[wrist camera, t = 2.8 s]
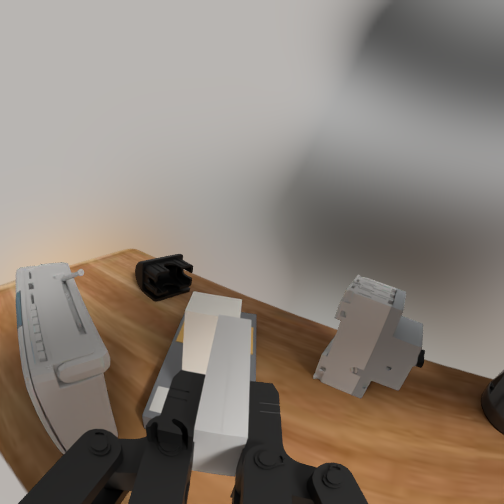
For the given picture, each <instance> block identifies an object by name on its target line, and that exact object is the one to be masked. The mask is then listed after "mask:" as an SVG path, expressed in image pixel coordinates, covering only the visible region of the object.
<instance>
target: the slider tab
mask: <svg viewBox="0 0 504 504" xmlns="http://www.w3.org/2000/svg"><path fill="white" fill-rule="evenodd" d="M241 305H242V299H236V298H230V297H224V296H218V295H212V294H207V293H201V292H195V291H194V292H193V294H192V296H191V299H190V301H189V303H188V305H187V308H186V310H185V321H184V338H183V358H182V370H185V371H190V372H195V373H200V374H205V375H206V371H207V366H208V361H209V357H210V352H211V348H212V343H213V339H214V334H215V330H216V325H217V321H218V316H219V314H220V315H226V316H231V317H237V318H240V315H241Z"/></svg>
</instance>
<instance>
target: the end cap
mask: <svg viewBox="0 0 504 504" xmlns="http://www.w3.org/2000/svg"><path fill="white" fill-rule="evenodd" d="M184 269H185V270H187V271H188V272H190V273H192V272H193V266H192V265H191V264H188V263H187V262H185V261H184V260H183V255H182V254H175V255H170V256H165V257H160V258H155V259H150V260H146V261H141V262H139V263H137V265H136V269H135V276H136V280H137V283H138V285H139V287H140V289H141V290H142V291H143V292H144V293H145V294H146V295H147V296H148V297H149V298H151V299H152V300H153V301H156V302H157V301H160V300H164V299H167V298H170V297H173V296H177V295H180V294H183V293H186V292H189V291H190V288H189V286H190V285H191V283H192V278H191V277H189V276H187V275H186V274H184V272H183V270H184Z"/></svg>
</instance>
